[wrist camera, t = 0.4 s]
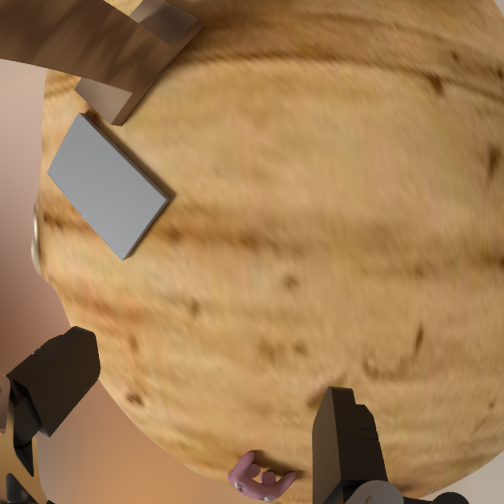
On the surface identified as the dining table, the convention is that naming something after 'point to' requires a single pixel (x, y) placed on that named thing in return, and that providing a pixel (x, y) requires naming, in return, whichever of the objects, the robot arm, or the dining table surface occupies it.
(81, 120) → the board
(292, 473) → the video game controller
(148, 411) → the dining table surface
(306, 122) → the dining table surface
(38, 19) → the stand
